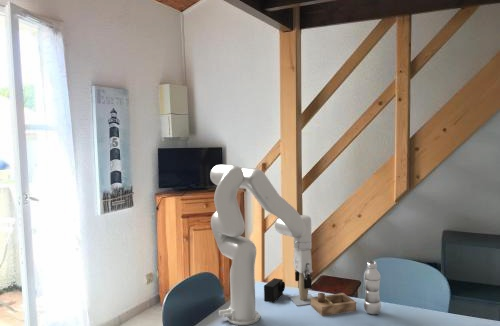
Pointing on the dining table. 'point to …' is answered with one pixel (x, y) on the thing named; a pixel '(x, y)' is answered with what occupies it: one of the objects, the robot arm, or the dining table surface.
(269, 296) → the digital camera
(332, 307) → the body
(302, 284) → the handle
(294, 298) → the mat
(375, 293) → the plastic bottle
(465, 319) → the dining table surface
